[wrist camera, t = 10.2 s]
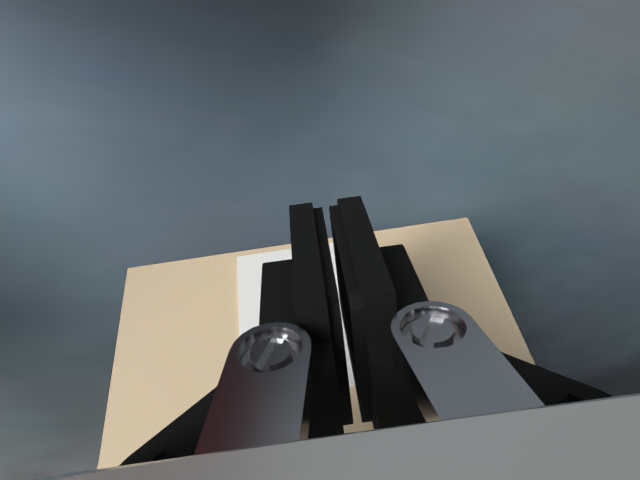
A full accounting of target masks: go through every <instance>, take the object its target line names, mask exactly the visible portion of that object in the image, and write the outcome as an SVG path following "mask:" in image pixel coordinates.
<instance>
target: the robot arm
mask: <svg viewBox="0 0 640 480" xmlns="http://www.w3.org/2000/svg"><path fill="white" fill-rule="evenodd" d="M289 211H290V232H291V253H292V259H288V260H281V261H274V262H266V263H263V264H262V277H261V296H260V314H259V326H256V327H253V328H251V329H249V330H248V331H246V332H244V333H243V334H241V335H240V336H239V337H238V338H237V339H236V340H235V341H234V343H233V345H232V346H231V348H230V350H229V353H228V356H227V359H226V362H225V365H224V367H223V370H222V373H221V376H220V379H219V382H218V385H217V387H215V388H214V389H213V390H212V391H210V392H209V393H208V394H207V395H205V396H204V397H203V398H202V399H200V400H199V401H198V402H197V403H195V404H194V405H193V406H191V407H190V408H189V409H188V410H186V411H185V412H184V413H183V414H181V415H180V416H179V417H178V418H176V419H175V420H174V421H173V422H171V423H170V424H169V425H167V426H166V427H165V428H164V429H162V430H161V431H160V432H159V433H157V434H156V435H155V436H154V437H152V438H151V439H150V440H149V441H147V442H146V443H145V444H143V445H142V446H141V447H140V448H138V449H137V450H136V451H135V452H133V453H132V454H131V455H130V456H128V457H127V458H126V459H125V460H124V461H123V462H122V463H121V464H120V465H119V466H117V467H110V468H103V469H96V470H89V471H82V472H75V473H69V474H63V475H58V476H52V477H47V478H41V479H35V480H640V393H637V394H629V395H622V396H615V397H613V396H611V395H609V394H607V393H605V392H603V391H601V390H598V389H596V388H593V387H590V386H588V385H585V384H583V383H580V382H578V381H575V380H572V379H570V378H567V377H565V376H562V375H560V374H557V373H554V372H552V371H549V370H547V369H544V368H541V367H539V366H536V365H534V364H531V363H529V362H526V361H523V360H521V359H518V358H516V357H513V356H511V355H508V354H505V353H503V352H500V351H499V349H498V348H497V347H496V346H495V345H494V343H493V342H492V341H491V340H490V339H489V337H488V336H487V335H486V334H485V333H484V331H483V330H482V329H481V328H480V327H479V325H478V324H477V323H476V322H475V321H474V319H473V318H472V317H471V316H470V315H469V314H468V313H467V312H465V311H464V310H463V309H461V308H459V307H457V306H455V305H452V304H448V303H444V302H437V301H429V300H428V297H427V295H426V293H425V291H424V289H423V287H422V284H421V282H420V280H419V278H418V276H417V274H416V271H415V269H414V267H413V265H412V263H411V260H410V258H409V256H408V254H407V252H406V250H405V247H404V246H403V244H399V245H391V246H384V247H379V245H378V242H377V239H376V237H375V234H374V231H373V229H372V226H371V223H370V220H369V218H368V215H367V212H366V209H365V207H364V204H363V201H362V199H361V196H356V197H349V198H342V199H337V205H335V206H329V211H330V220H331V228H332V237H333V246H334V254H335V263H336V272H337V280H338V289H339V297H338V291H337V285H336V280H335V275H334V269H333V264H332V258H331V253H330V248H329V242H328V237H327V232H326V226H325V221H324V216H323V210H322V207H320V208H313V206H312V203H305V204H297V205H290V206H289ZM339 298H340V303H339ZM340 306H341V310H340ZM341 312H342V318H343V323H344V329H345V334H346V340H347V345H348V350H349V356H350V361H351V366H352V372H353V377H354V382H355V388H356V393H357V399H358V404H359V409H360V415H361V420H362V423H364V422H372V424H373V428H374V430H366V431H359V432H352V433H345V434H344V428H343V425H350V424H354V423H353V414H352V405H351V396H350V388H349V379H348V370H347V362H346V353H345V345H344V336H343V327H342V319H341Z"/></svg>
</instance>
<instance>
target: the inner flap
mask: <svg viewBox="0 0 640 480" xmlns="http://www.w3.org/2000/svg"><path fill="white" fill-rule="evenodd" d="M374 234H375V237H376V239H377V242H378V245H379V247H384V246H391V245H399V244H403V246H404V247H405V250H406V252H407V254H408V256H409V258H410V260H411V263H412V265H413V267H414V269H415V271H416V274H417V276H418V278H419V280H420V282H421V284H422V287H423V289H424V291H425V293H426V295H427V297H428V300H429V301H437V302H444V303H448V304H452V305H455V306H457V307H459V308H461V309H463V310H464V311H465V312H467V313H468V314H469V315H470V316H471V317H472V318H473V319H474V321H475V322H476V323H477V324H478V325H479V327H480V328H481V329H482V330H483V331H484V333H485V334H486V335H487V336H488V337H489V339H490V340H491V341H492V342H493V343H494V345H495V346H496V347H497V348H498V349H499V351H500V352H503V353H505V354H508V355H511V356H513V357H516V358H518V359H521V360H523V361H526V362H529V363H531V364H534V365H535V362H534V360H533V358H532V356H531V354H530V352H529V350H528V347H527V345H526V343H525V341H524V339H523V337H522V334H521V332H520V330H519V328H518V326H517V324H516V321H515V319H514V317H513V315H512V313H511V311H510V308H509V306H508V304H507V302H506V300H505V298H504V295H503V293H502V291H501V289H500V287H499V285H498V283H497V280H496V278H495V276H494V274H493V272H492V270H491V267H490V265H489V263H488V261H487V259H486V257H485V254H484V252H483V250H482V248H481V246H480V244H479V241H478V239H477V237H476V235H475V233H474V231H473V228H472V226H471V224H470V222H469V220H468V218H467V217H466V218H460V219H453V220H446V221H440V222H433V223H426V224H420V225H413V226H406V227H400V228H393V229H386V230H380V231H374ZM328 242H329V248H330V253H331V258H332V264H333V269H334V275H335V280H336V285H337V291H338V297H339V289H338V280H337V272H336V263H335V254H334V246H333V238H328ZM288 259H292V253H291V244H286V245H280V246H273V247H266V248H260V249H253V250H246V251H240V252H233V253H226V254H220V255H213V256H206V257H200V258H193V259H186V260H180V261H173V262H166V263H160V264H153V265H147V266H140V267H133V268H128V269H127V276H126V283H125V289H124V296H123V303H122V310H121V316H120V323H119V330H118V336H117V343H116V350H115V357H114V363H113V370H112V377H111V383H110V390H109V397H108V404H107V410H106V417H105V424H104V430H103V437H102V444H101V451H100V457H99V464H98V469H103V468H110V467H117V466H119V465H120V464H121V463H122V462H123V461H124V460H125V459H126V458H127V457H128V456H130V455H131V454H132V453H133V452H135V451H136V450H137V449H138V448H140V447H141V446H142V445H143V444H145V443H146V442H147V441H149V440H150V439H151V438H152V437H154V436H155V435H156V434H157V433H159V432H160V431H161V430H162V429H164V428H165V427H166V426H167V425H169V424H170V423H171V422H173V421H174V420H175V419H176V418H178V417H179V416H180V415H181V414H183V413H184V412H185V411H186V410H188V409H189V408H190V407H191V406H193V405H194V404H195V403H197V402H198V401H199V400H200V399H202V398H203V397H204V396H205V395H207V394H208V393H209V392H210V391H212V390H213V389H214V388H215V387H217V385H218V382H219V379H220V376H221V373H222V370H223V367H224V365H225V362H226V359H227V356H228V353H229V350H230V348H231V346H232V345H233V343H234V341H235V340H236V339H237V338H238V337H239V336H240V335H241V334H243V333H244V332H246V331H248V330H249V329H251V328H253V327H256V326H259V314H260V296H261V277H262V264H263V263H266V262H274V261H281V260H288ZM339 303H340V298H339ZM340 310H341V306H340ZM341 319H342V327H343V336H344V345H345V353H346V362H347V370H348V379H349V388H350V396H351V405H352V414H353V423H354V424H350V425H343V428H344V434H345V433H352V432H359V431H366V430H374V428H373V424H372V422H364V423H362V420H361V415H360V409H359V404H358V399H357V393H356V388H355V382H354V377H353V372H352V366H351V361H350V356H349V350H348V345H347V340H346V334H345V329H344V323H343V318H342V312H341Z"/></svg>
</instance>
